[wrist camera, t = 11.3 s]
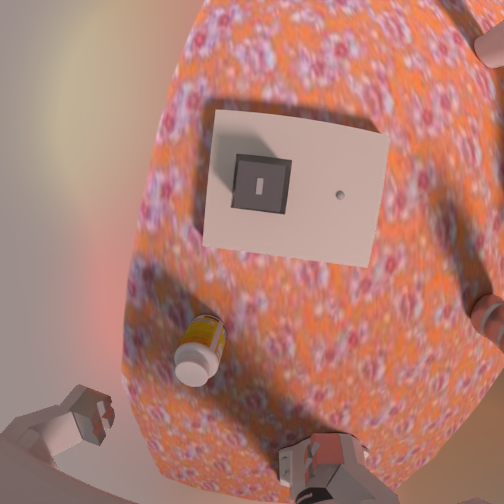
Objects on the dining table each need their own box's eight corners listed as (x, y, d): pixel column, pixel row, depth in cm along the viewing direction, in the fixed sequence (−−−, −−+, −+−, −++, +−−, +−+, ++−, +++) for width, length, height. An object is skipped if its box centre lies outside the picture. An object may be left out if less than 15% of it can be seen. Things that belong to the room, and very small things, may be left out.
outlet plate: (362, 261, 37) (367, 268, 35) (206, 240, 38) (202, 246, 35) (383, 137, 32) (390, 135, 30) (219, 112, 33) (215, 109, 31)
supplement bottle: (182, 324, 42) (158, 366, 32) (211, 306, 40) (192, 348, 31) (206, 351, 43) (189, 397, 33) (235, 335, 42) (224, 382, 32)
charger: (279, 204, 35) (280, 212, 30) (240, 199, 36) (233, 206, 30) (284, 165, 34) (286, 166, 28) (245, 160, 34) (238, 160, 28)
